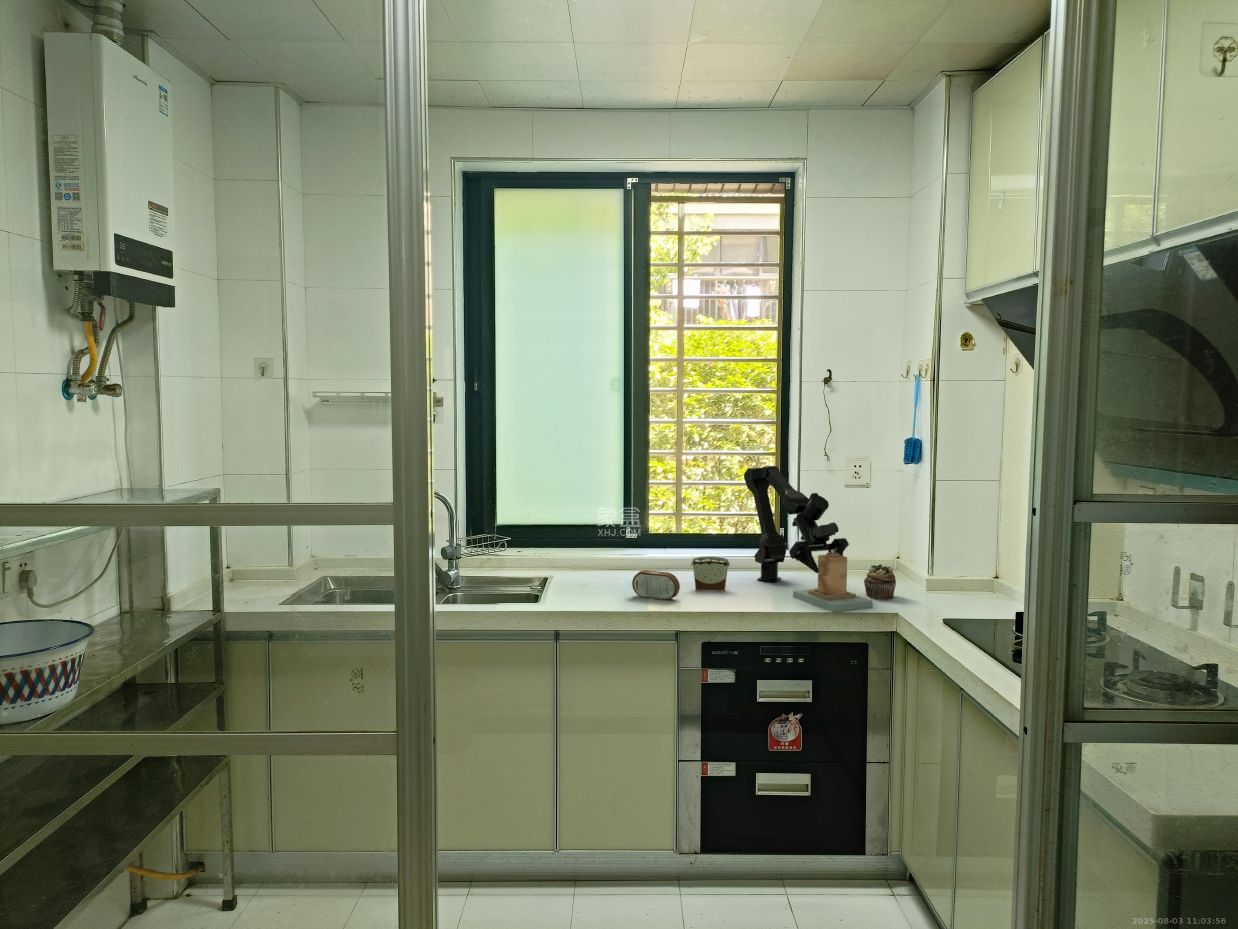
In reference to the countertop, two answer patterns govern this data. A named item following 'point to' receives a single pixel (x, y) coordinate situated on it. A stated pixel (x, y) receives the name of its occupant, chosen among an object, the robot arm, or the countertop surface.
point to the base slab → (833, 600)
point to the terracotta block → (832, 574)
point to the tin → (655, 585)
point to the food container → (710, 573)
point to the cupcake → (880, 582)
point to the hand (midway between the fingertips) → (830, 571)
